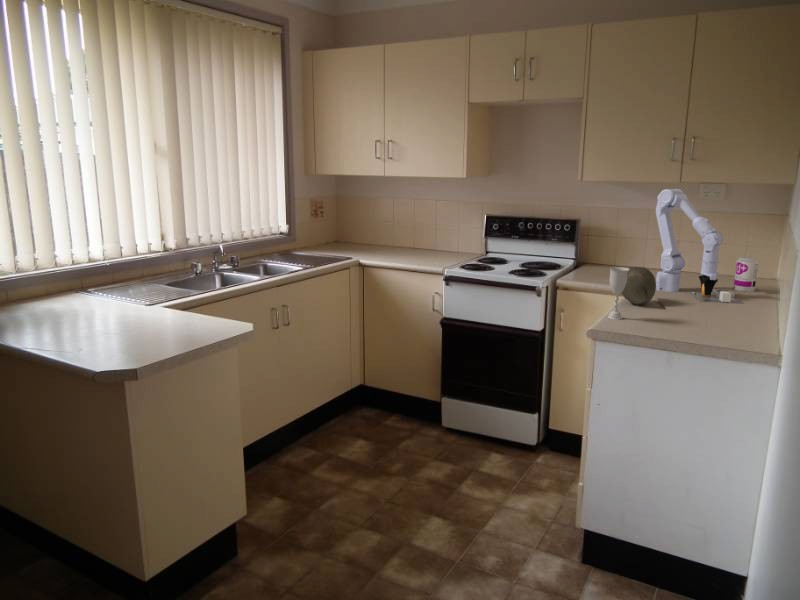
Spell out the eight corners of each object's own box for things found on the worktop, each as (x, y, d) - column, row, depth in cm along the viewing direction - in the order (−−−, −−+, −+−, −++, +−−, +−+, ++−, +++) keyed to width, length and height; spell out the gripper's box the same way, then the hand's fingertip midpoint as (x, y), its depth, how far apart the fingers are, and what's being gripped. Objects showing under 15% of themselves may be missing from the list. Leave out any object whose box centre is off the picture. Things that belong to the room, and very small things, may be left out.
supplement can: (743, 294, 270) (747, 259, 267) (728, 290, 278) (732, 256, 275) (758, 293, 273) (763, 259, 269) (743, 289, 280) (748, 256, 277)
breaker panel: (700, 304, 251) (700, 300, 251) (689, 294, 269) (689, 291, 268) (743, 306, 248) (744, 302, 248) (729, 296, 266) (730, 293, 265)
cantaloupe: (656, 302, 253) (660, 265, 250) (650, 309, 241) (654, 271, 238) (620, 298, 260) (623, 262, 257) (612, 305, 248) (616, 267, 245)
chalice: (609, 314, 233) (613, 266, 229) (627, 317, 229) (632, 268, 225) (601, 318, 228) (605, 269, 224) (620, 321, 224) (625, 271, 220)
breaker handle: (722, 301, 250) (723, 293, 250) (719, 299, 254) (720, 291, 254) (730, 302, 250) (731, 293, 249) (727, 300, 254) (728, 291, 253)
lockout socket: (716, 297, 260) (716, 292, 259) (711, 293, 266) (712, 289, 266) (734, 298, 258) (734, 293, 258) (728, 294, 265) (729, 290, 264)
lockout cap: (702, 296, 260) (703, 284, 259) (700, 295, 264) (701, 283, 263) (711, 297, 260) (713, 285, 258) (709, 295, 263) (710, 283, 262)
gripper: (725, 264, 251) (721, 298, 254) (715, 259, 265) (711, 290, 268) (706, 264, 252) (702, 297, 255) (697, 258, 266) (693, 290, 269)
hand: (706, 294), depth 261 cm, fingers closed on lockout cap, 4 cm apart
